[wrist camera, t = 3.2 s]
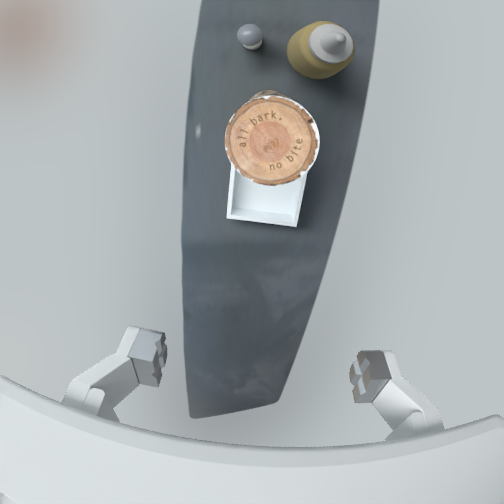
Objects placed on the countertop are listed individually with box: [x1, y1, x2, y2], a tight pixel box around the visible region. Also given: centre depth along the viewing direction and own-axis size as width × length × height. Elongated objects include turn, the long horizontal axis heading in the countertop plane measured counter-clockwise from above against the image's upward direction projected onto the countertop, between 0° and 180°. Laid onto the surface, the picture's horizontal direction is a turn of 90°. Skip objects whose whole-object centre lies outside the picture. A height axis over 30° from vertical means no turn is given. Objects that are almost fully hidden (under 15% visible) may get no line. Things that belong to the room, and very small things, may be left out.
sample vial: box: [237, 24, 262, 50], centre depth 32 cm, size 3×3×6 cm
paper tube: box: [225, 90, 320, 186], centre depth 30 cm, size 7×7×25 cm
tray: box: [227, 163, 307, 227], centre depth 46 cm, size 11×11×4 cm
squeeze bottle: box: [287, 21, 355, 79], centre depth 28 cm, size 8×8×18 cm
